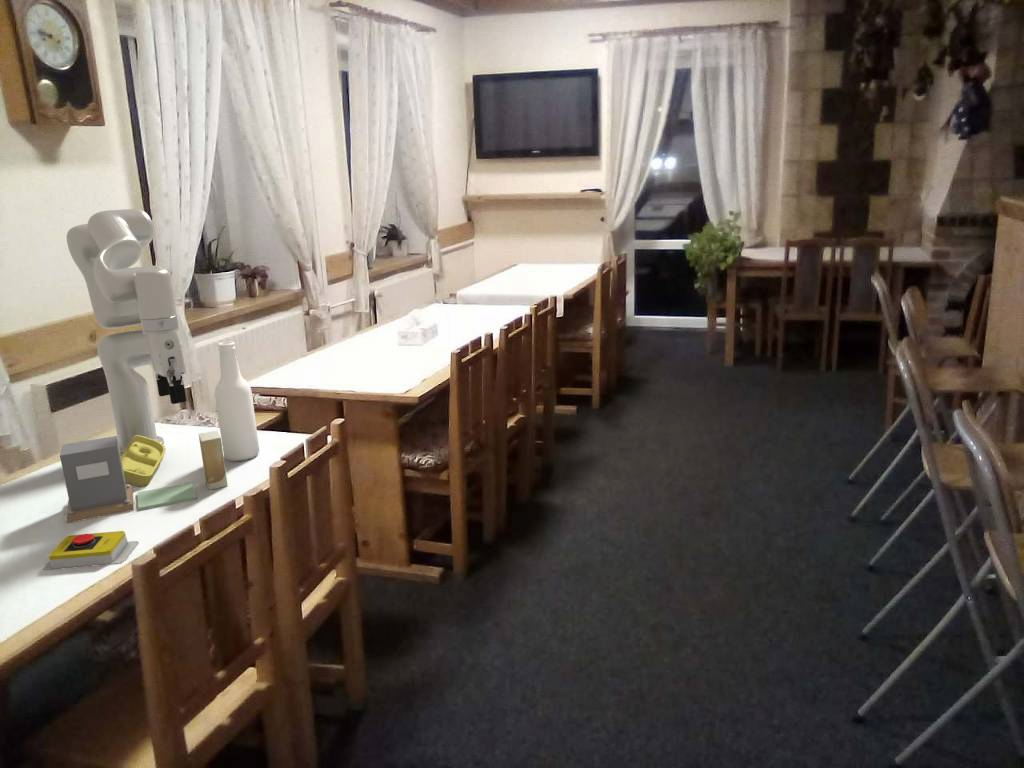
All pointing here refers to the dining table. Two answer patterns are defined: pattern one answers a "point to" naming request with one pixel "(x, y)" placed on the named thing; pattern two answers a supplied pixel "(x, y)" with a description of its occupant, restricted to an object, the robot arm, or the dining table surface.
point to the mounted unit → (95, 479)
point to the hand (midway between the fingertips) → (172, 398)
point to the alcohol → (235, 408)
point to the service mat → (166, 496)
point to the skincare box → (213, 460)
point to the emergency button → (91, 550)
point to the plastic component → (142, 460)
